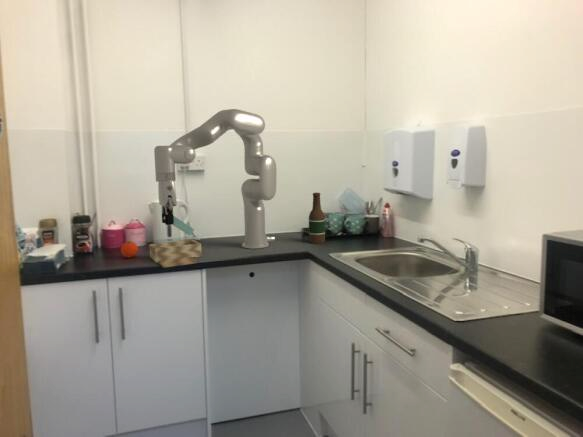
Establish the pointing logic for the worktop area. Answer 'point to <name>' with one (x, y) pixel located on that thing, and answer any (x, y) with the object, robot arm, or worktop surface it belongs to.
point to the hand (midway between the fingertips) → (167, 223)
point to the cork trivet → (177, 262)
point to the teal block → (182, 226)
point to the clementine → (129, 249)
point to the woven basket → (175, 250)
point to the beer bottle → (316, 222)
